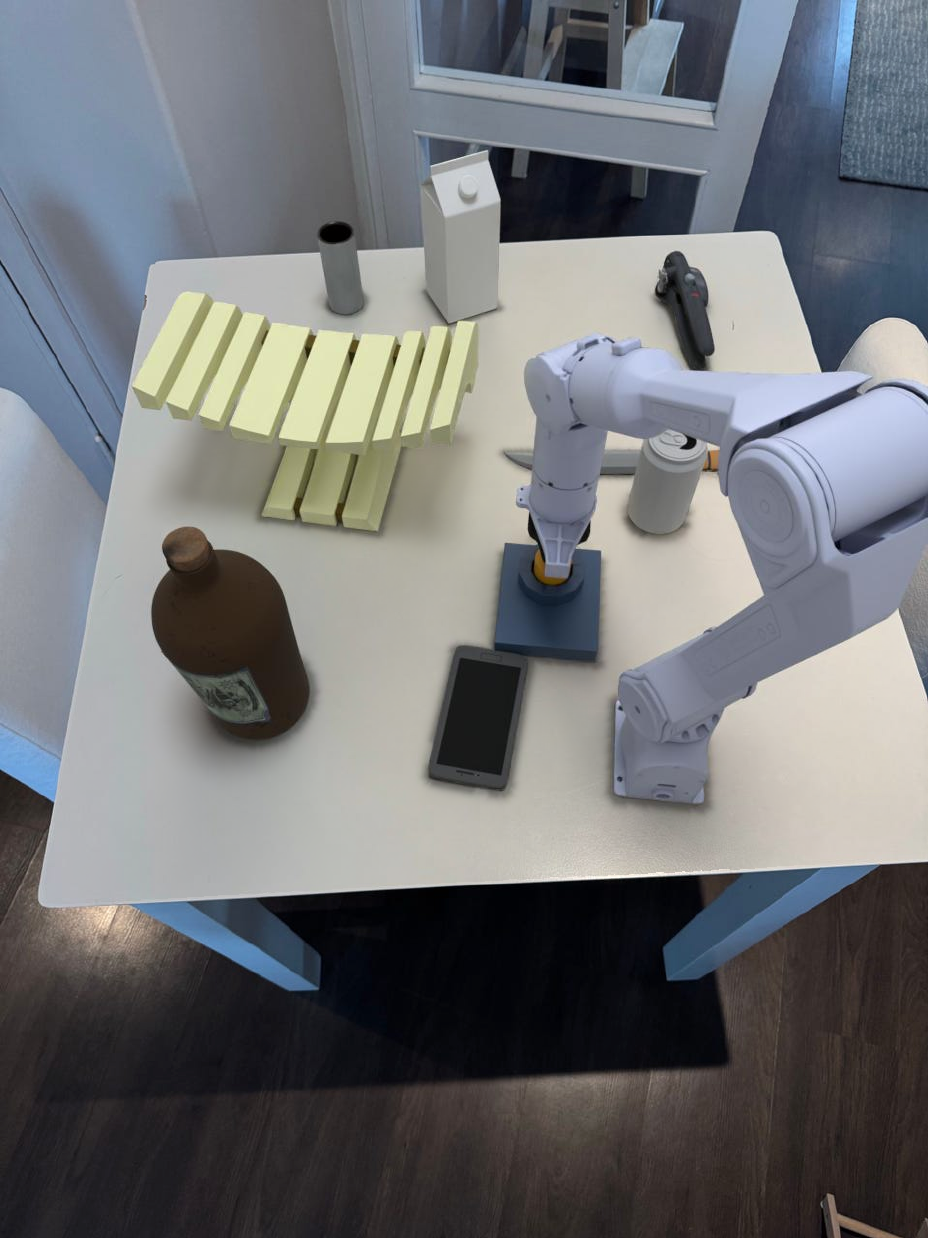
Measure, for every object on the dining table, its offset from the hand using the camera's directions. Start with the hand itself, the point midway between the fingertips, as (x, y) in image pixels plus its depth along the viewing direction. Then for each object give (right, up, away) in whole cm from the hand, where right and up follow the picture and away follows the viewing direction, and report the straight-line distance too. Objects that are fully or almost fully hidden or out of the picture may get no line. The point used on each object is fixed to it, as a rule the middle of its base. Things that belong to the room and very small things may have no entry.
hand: (553, 557), depth 82 cm
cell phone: (-7, -15, -2) cm, 17 cm away
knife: (+11, +12, +14) cm, 21 cm away
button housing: (0, -5, +4) cm, 6 cm away
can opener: (+19, +32, +26) cm, 45 cm away
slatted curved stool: (-23, +11, +14) cm, 29 cm away
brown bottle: (-28, -13, -1) cm, 31 cm away
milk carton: (-9, +36, +28) cm, 47 cm away
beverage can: (+12, +5, +10) cm, 17 cm away
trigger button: (0, -1, +2) cm, 2 cm away
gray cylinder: (-24, +35, +28) cm, 51 cm away
